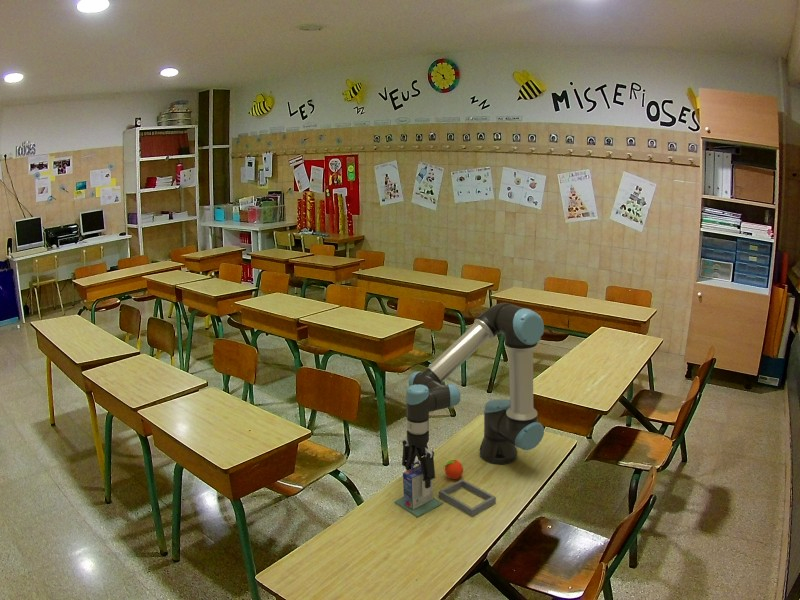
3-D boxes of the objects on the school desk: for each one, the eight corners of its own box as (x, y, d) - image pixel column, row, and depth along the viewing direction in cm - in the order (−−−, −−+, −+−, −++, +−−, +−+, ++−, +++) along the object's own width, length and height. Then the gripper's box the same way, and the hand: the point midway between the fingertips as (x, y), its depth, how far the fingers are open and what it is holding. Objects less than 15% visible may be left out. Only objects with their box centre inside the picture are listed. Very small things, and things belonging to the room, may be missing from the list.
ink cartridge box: (423, 493, 220) (423, 456, 216) (433, 499, 215) (434, 462, 212) (402, 503, 213) (402, 466, 210) (412, 510, 209) (412, 472, 206)
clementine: (447, 484, 226) (447, 467, 224) (439, 475, 232) (439, 458, 231) (466, 480, 229) (466, 463, 227) (458, 471, 235) (458, 454, 233)
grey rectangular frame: (462, 485, 226) (462, 479, 225) (495, 503, 214) (495, 497, 213) (438, 497, 218) (438, 491, 217) (472, 516, 206) (472, 510, 206)
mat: (419, 490, 223) (419, 488, 222) (442, 504, 214) (442, 502, 214) (394, 502, 215) (394, 501, 215) (417, 517, 206) (417, 516, 206)
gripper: (390, 423, 213) (391, 483, 218) (429, 443, 198) (430, 506, 203) (406, 417, 217) (407, 475, 223) (446, 436, 203) (446, 498, 208)
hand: (418, 490), depth 213 cm, fingers open, 7 cm apart
